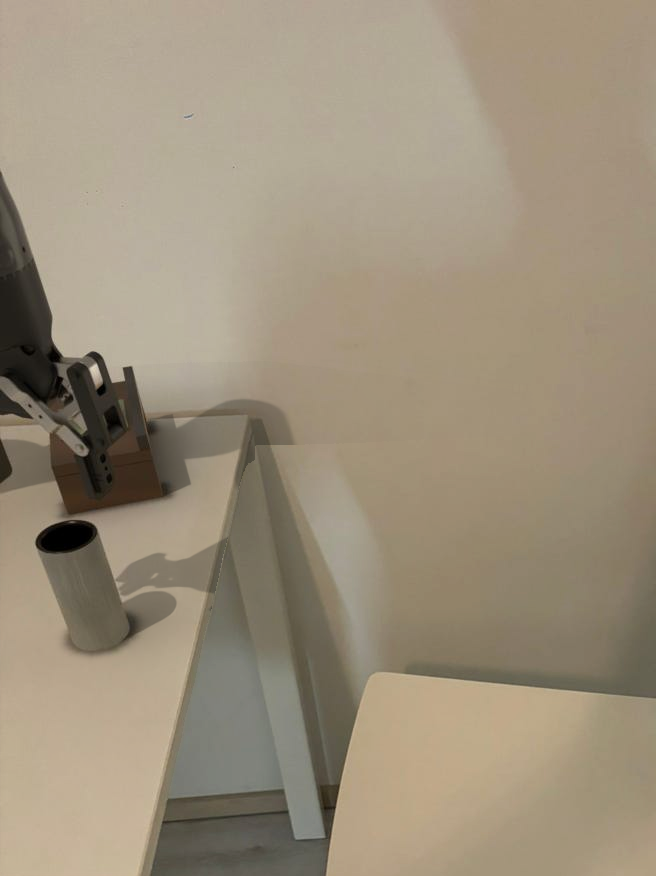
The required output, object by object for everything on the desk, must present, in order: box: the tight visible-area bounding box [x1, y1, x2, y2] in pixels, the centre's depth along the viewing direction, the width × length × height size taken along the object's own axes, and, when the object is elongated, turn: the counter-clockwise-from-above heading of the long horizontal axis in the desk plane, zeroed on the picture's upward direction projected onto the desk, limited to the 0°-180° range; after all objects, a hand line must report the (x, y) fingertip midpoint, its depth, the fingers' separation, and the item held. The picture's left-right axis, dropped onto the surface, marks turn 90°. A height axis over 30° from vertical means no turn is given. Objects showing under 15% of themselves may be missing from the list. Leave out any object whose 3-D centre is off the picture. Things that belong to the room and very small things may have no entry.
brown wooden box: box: [48, 365, 164, 516], centre depth 95 cm, size 16×9×8 cm, turn 20°
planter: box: [34, 519, 131, 652], centre depth 74 cm, size 4×4×10 cm
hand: (50, 486), depth 68 cm, fingers open, 8 cm apart
